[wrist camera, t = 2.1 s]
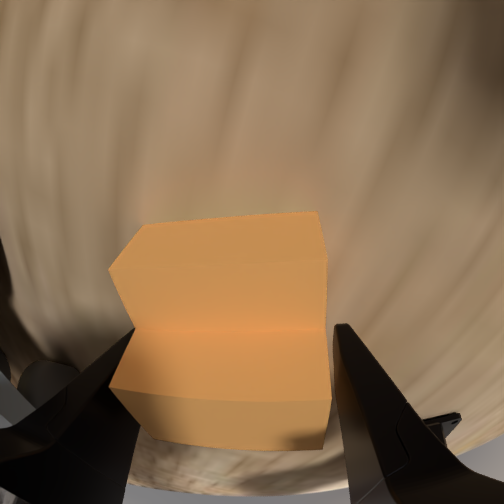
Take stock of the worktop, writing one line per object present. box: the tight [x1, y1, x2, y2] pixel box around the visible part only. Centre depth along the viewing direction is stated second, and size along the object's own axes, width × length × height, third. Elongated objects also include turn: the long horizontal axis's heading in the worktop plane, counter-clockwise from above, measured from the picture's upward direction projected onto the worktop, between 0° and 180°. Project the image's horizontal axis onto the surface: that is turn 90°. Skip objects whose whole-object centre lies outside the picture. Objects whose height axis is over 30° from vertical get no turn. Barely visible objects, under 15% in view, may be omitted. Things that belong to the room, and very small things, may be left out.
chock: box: [108, 211, 332, 451], centre depth 8 cm, size 7×5×4 cm
